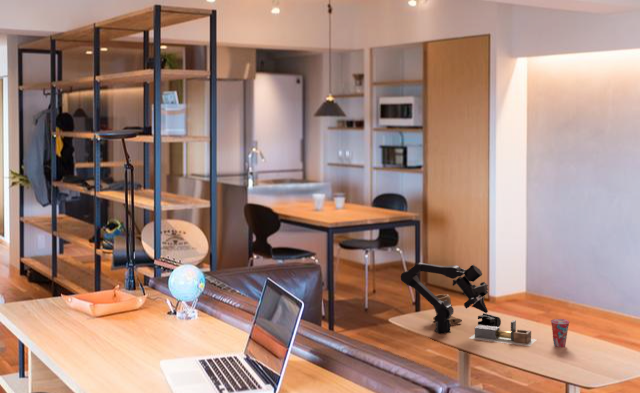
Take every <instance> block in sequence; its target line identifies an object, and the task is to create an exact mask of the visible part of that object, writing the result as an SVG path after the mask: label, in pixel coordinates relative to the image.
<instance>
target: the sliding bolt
mask: <svg viewBox="0 0 640 393" xmlns="http://www.w3.org/2000/svg"><path fill="white" fill-rule="evenodd" d="M514 332H517V320H515V319H512V320H511V321H510V331H505V330H500V329H499V330H497V331H496V337H501V338H509V339H511V341H513V340H514Z"/></svg>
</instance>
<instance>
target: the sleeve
mask: <svg viewBox="0 0 640 393" xmlns="http://www.w3.org/2000/svg"><path fill="white" fill-rule="evenodd" d="M497 330H499V331H500V327H494V326H485V325H478V324H477V325H476V326H475V327H474V334H475V337H477V338H485V339H492V340H496V331H497Z"/></svg>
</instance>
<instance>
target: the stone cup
mask: <svg viewBox="0 0 640 393" xmlns="http://www.w3.org/2000/svg"><path fill="white" fill-rule="evenodd" d="M434 295H435V294H434ZM435 296H436V297H437V298H438V299H440V300H441V301H443V302H444V301H445V300H447V301H448V303H449V304H451V305H452V299H451V296H450V295H449V294H447V293H446V294H444V293H441V294H436V295H435ZM432 307H433V309H434V312H435V316H436V315H437V314H438V313H437V312H436V310H435V308H434V306H433V305H432ZM433 320H434V321H435V318H434V317H433ZM448 320H449V322H450V326H452V325H453V326H454V325H455V326H456V325H458V324H460V323H462V322H463V319H462V318H459V317H455V316H453V315H451V316H450V318H449V319H448Z"/></svg>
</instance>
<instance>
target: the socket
mask: <svg viewBox="0 0 640 393" xmlns="http://www.w3.org/2000/svg"><path fill="white" fill-rule="evenodd" d="M531 339H532V330H526V329H516V332H514V342H515V343H523V344H528V343H529V342H530V341H531Z"/></svg>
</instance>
